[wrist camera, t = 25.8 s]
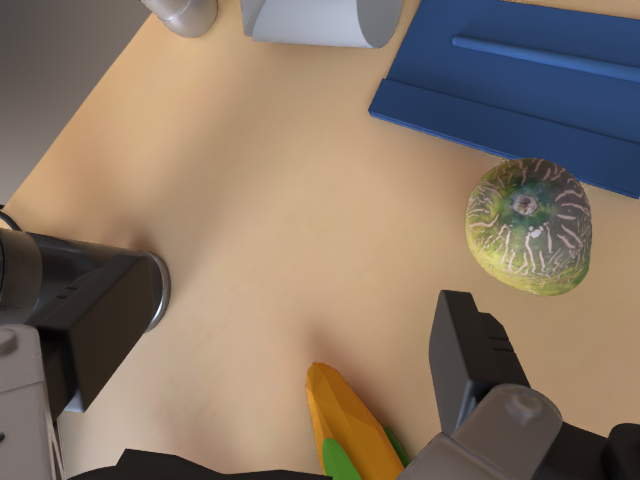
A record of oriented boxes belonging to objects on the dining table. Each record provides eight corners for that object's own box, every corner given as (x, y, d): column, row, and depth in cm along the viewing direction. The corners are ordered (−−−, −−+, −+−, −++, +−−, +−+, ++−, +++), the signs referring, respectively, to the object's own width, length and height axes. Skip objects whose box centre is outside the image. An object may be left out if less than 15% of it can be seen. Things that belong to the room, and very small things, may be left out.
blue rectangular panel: (371, 116, 43) (366, 111, 42) (427, -7, 42) (424, -15, 41) (638, 199, 32) (640, 195, 31) (721, 35, 31) (726, 25, 30)
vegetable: (501, 302, 35) (425, 279, 17) (492, 221, 36) (414, 125, 19) (594, 297, 32) (613, 264, 15) (581, 209, 33) (585, 83, 16)
